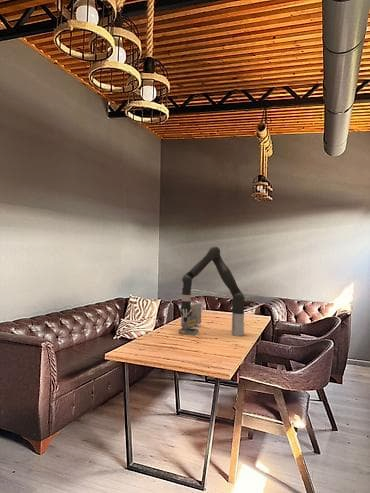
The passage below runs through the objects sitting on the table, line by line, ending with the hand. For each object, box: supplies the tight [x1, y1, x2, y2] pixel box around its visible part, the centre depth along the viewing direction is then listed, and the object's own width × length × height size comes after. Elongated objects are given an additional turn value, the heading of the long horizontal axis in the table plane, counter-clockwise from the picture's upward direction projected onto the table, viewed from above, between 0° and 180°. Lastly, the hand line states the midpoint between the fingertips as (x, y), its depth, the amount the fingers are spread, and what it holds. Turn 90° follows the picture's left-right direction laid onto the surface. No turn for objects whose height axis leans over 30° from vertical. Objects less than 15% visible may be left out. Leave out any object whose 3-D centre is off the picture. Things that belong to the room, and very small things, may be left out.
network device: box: [180, 302, 202, 329], centre depth 334 cm, size 26×9×20 cm, turn 146°
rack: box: [178, 328, 199, 336], centre depth 312 cm, size 13×10×3 cm
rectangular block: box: [181, 322, 189, 330], centre depth 313 cm, size 3×6×7 cm, turn 158°
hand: (185, 321), depth 313 cm, fingers closed
